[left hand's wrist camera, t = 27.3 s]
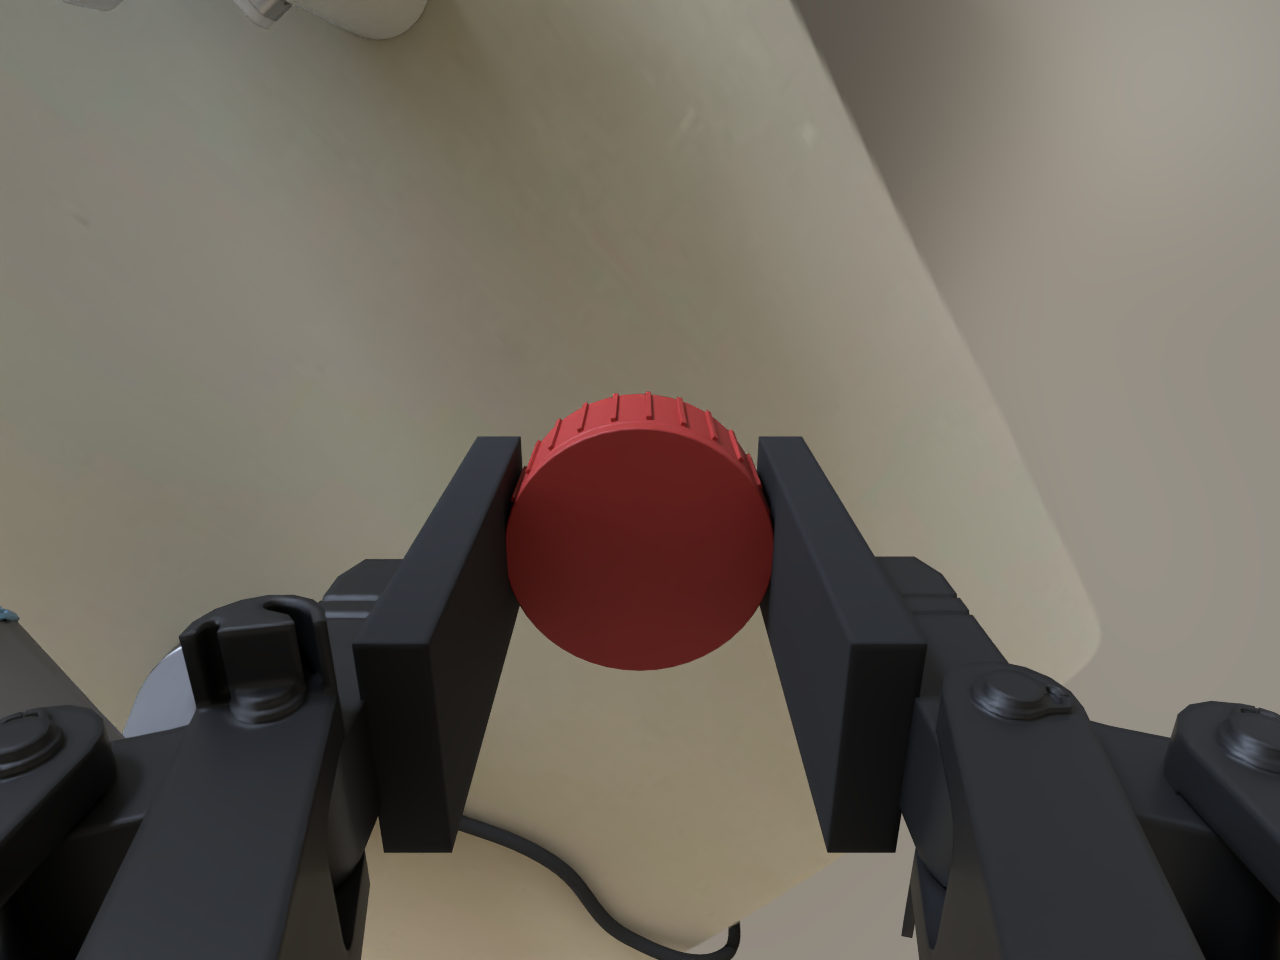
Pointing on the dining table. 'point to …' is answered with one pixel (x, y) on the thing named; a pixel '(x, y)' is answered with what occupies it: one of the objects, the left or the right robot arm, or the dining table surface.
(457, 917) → the dining table surface
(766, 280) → the dining table surface
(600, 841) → the dining table surface
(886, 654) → the left robot arm
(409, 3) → the bottle
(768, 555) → the cap
